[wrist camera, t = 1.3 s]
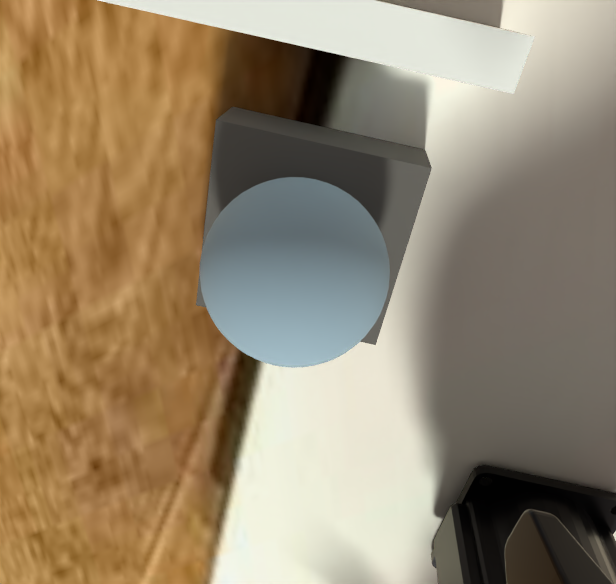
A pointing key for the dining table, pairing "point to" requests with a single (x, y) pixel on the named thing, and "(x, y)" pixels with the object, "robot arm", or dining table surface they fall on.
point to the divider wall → (369, 34)
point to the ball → (294, 272)
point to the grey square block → (320, 174)
